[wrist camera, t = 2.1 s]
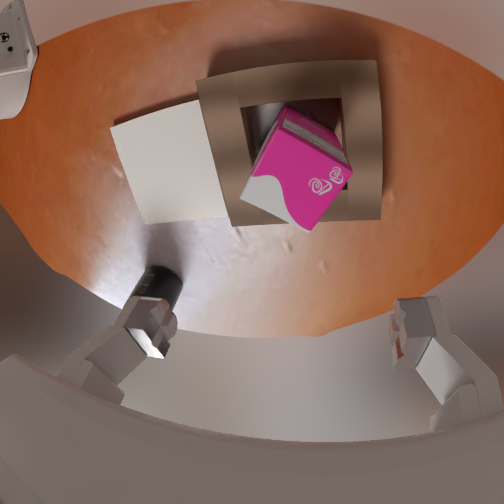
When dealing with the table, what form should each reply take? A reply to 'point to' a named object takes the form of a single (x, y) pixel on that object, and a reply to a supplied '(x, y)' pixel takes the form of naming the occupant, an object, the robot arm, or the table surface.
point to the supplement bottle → (158, 285)
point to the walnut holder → (291, 89)
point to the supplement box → (297, 170)
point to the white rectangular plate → (171, 165)
